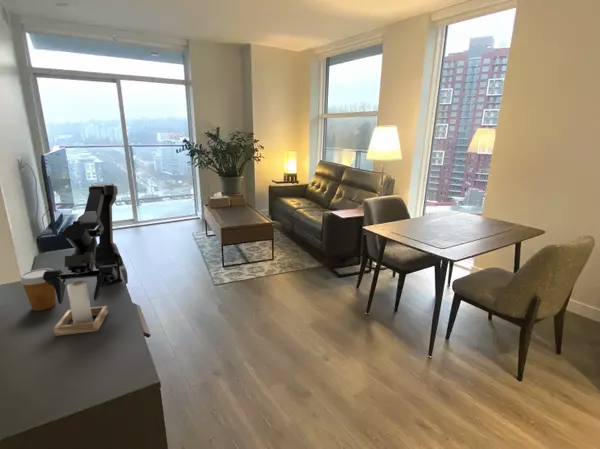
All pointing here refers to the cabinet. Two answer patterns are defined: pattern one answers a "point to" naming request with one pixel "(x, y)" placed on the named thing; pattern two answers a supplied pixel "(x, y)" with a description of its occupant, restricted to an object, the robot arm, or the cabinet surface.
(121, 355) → the cabinet surface
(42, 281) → the disposable coffee cup
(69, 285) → the paper roll
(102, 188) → the robot arm
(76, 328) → the oak holder
